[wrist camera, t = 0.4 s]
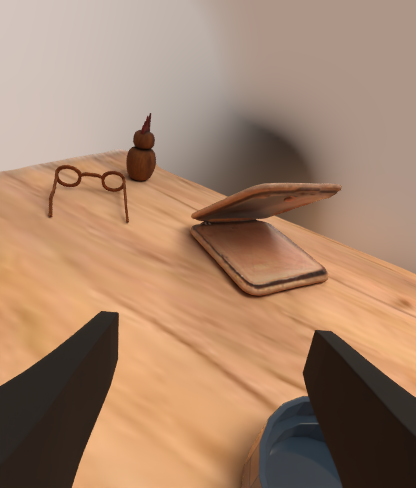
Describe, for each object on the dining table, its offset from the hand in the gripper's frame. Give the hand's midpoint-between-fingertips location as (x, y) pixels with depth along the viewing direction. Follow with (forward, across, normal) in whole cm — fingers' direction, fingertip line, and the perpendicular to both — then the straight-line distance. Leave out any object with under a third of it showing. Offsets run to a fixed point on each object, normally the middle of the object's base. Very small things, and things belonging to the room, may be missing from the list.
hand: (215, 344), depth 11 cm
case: (+43, -11, +14) cm, 47 cm away
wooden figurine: (+67, +15, +7) cm, 69 cm away
